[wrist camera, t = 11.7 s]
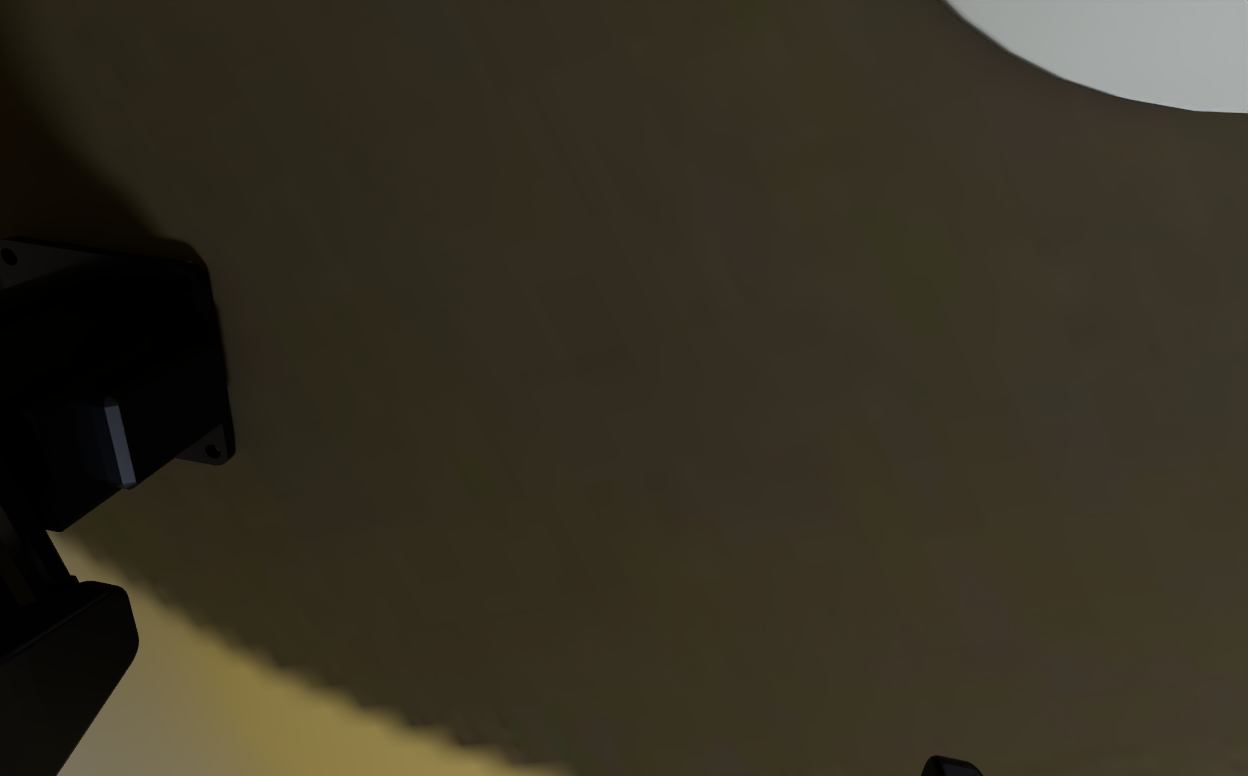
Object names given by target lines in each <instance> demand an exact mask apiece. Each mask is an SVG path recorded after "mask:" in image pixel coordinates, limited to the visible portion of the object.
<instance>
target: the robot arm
mask: <svg viewBox="0 0 1248 776" xmlns="http://www.w3.org/2000/svg"><path fill="white" fill-rule="evenodd" d="M13 252H14V253H15V255H16V256H15V255H14V253H13ZM185 276H186V277H187V278H188V279H189V280H190V281H191V284H192V287H191V286H189V285H188V284H187V282H186V280H185ZM0 279H1V282H2V286H3V290H0V776H57V774H58V773H59V771H60V770H61V768H62V767H63V766H64V764H65V763H66V761H67V760H68V758H69V757H70V755H71V754H72V752H73V751H74V749H75V748H76V746H77V745H78V743H79V742H80V740H81V739H82V737H83V735H84V734H85V732H86V731H87V730H88V728H89V727H90V725H91V724H92V722H93V721H94V719H95V718H96V716H97V715H98V713H99V711H100V710H101V708H102V707H103V705H104V704H105V702H106V701H107V699H108V698H109V696H110V695H111V693H112V692H113V690H114V689H115V687H116V686H117V684H118V683H119V681H120V680H121V678H122V677H123V675H124V674H125V672H126V671H127V669H128V668H129V666H130V665H131V663H132V661H133V660H134V657H135V655H136V653H137V650H138V645H139V637H138V632H137V628H136V624H135V621H134V617H133V613H132V609H131V605H130V601H129V597H128V595H127V593H126V591H125V590H124V589H123V588H122V587H119V586H116V585H111V584H106V583H102V582H97V581H85V582H81V583H79V581H78V579H77V578H76V576H73V575H70V574H69V572H68V570H67V568H66V566H65V565H64V563H63V561H62V559H61V557H60V555H59V554H58V552H57V550H56V548H55V546H54V545H53V543H52V541H51V539H50V537H49V535H48V534H47V532H46V530H50V531H55V532H63V531H64V530H65V529H67V528H68V527H70V526H71V525H72V524H74V523H75V522H77V521H78V520H79V519H81V518H82V517H84V516H85V515H86V514H88V513H89V512H90V511H92V510H93V509H95V508H96V507H97V506H99V505H100V504H102V503H103V502H104V501H106V500H107V499H109V498H110V497H111V496H113V495H114V494H115V493H117V492H118V491H120V490H121V489H122V488H123V489H128V490H130V489H133V488H135V487H136V486H137V485H139V484H140V483H141V482H143V481H144V480H145V479H147V478H148V477H150V476H151V475H152V474H154V473H155V472H156V471H158V470H159V469H160V468H162V467H163V466H165V465H166V464H167V463H169V462H170V461H171V460H173V459H174V458H178V459H184V460H189V461H195V462H200V463H206V464H211V465H222V464H224V463H226V462H227V461H228V460H229V459H231V458H232V457H233V456H234V454H235V449H236V448H235V441H234V435H233V429H232V422H231V416H230V409H229V403H228V396H227V390H226V384H225V377H224V371H223V365H222V358H221V352H220V346H219V340H218V334H217V327H216V321H215V314H214V308H213V302H212V295H211V289H210V283H209V279H208V276H207V275H206V273H205V272H204V270H203V269H202V268H200V267H199V266H198V265H196V264H193V263H190V262H183V261H177V260H170V259H163V258H157V257H150V256H144V255H137V254H130V253H124V252H117V251H110V250H104V249H97V248H91V247H84V246H77V245H71V244H64V243H57V242H51V241H44V240H38V239H31V238H24V237H18V236H14V237H8V238H5V239H1V240H0ZM214 446H216V447H217V448H218V449H219V451H218V450H217V449H216V448H215V447H214ZM921 776H983V775H982V773H981V772H980V771H979V770H978V768H976V767H975V766H974V765H973V764H971V763H969V762H967V761H962V760H958V759H953V758H948V757H943V756H938V755H936V756H932V757H930V758H929V759H928V761H927V762H926V764H925V766H924V769H923V772H922V774H921Z"/></svg>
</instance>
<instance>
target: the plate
mask: <svg viewBox="0 0 1248 776" xmlns="http://www.w3.org/2000/svg"><path fill="white" fill-rule="evenodd" d="M938 1H939V2H940V3H941V4H942V5H943V6H944V7H945V8H946V9H947V10H948V11H949V12H950V13H951V14H952V15H953V16H954V17H955V18H956V19H957V20H959V21H960V22H962V23H963V24H964V25H966V26H967V27H969V28H970V29H971V30H973V31H974V32H975V33H977V34H978V35H980V36H981V37H982V38H984V39H985V40H986V41H988V42H989V43H991V44H992V45H993V46H995V47H996V48H997V49H999V50H1000V51H1002V52H1004V53H1006V54H1008V55H1010V56H1012V57H1014V58H1016V59H1018V60H1020V61H1022V62H1024V63H1026V64H1028V65H1030V66H1032V67H1034V68H1036V69H1038V70H1040V71H1042V72H1043V73H1045V74H1047V75H1050V76H1053V77H1056V78H1059V79H1062V80H1065V81H1068V82H1071V83H1074V84H1077V85H1080V86H1083V87H1086V88H1089V89H1092V90H1095V91H1098V92H1101V93H1105V94H1109V95H1114V96H1118V97H1123V98H1127V99H1132V100H1137V101H1143V102H1148V103H1154V104H1160V105H1165V106H1171V107H1177V108H1182V109H1188V110H1193V111H1212V112H1236V113H1248V0H938Z"/></svg>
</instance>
